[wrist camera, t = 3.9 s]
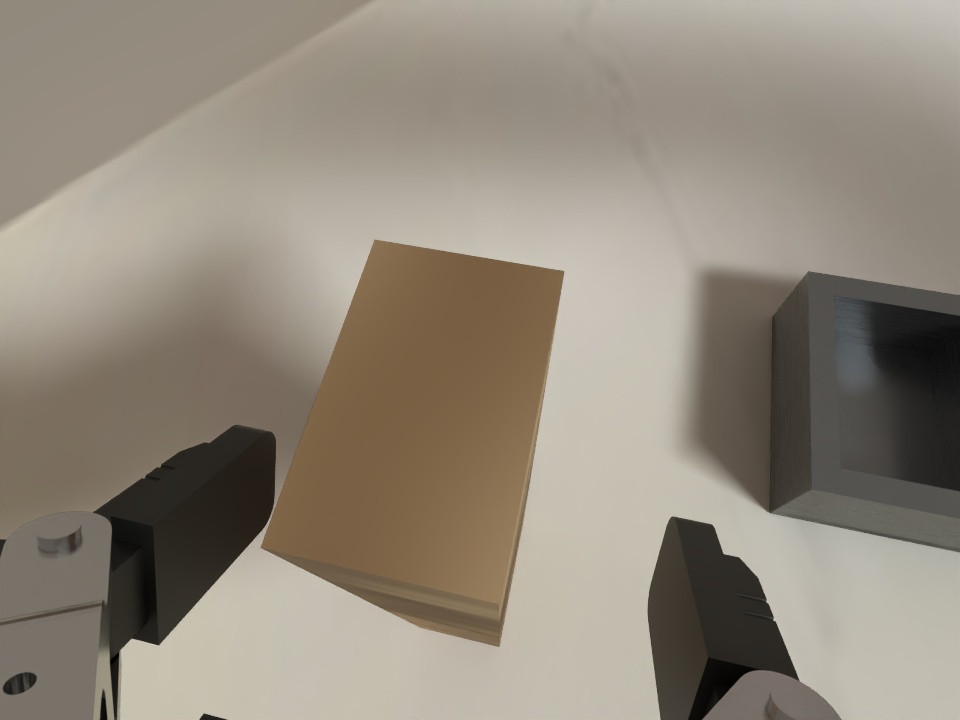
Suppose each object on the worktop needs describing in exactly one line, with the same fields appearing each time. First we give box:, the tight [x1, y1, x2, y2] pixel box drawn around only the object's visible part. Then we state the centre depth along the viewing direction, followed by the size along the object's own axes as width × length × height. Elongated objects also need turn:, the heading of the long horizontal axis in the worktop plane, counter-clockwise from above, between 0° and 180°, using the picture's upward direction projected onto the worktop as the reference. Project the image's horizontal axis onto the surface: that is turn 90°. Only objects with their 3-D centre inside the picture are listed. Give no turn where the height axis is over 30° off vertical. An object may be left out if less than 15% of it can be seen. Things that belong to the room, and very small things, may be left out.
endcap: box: [770, 271, 960, 552], centre depth 20 cm, size 6×8×3 cm
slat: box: [261, 240, 564, 647], centre depth 13 cm, size 2×4×14 cm, turn 168°
